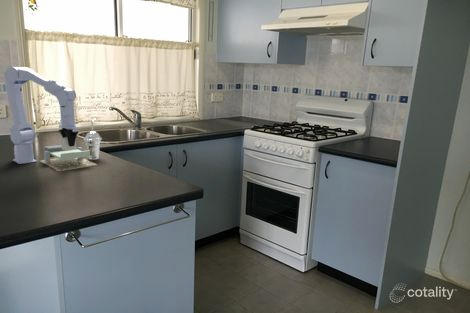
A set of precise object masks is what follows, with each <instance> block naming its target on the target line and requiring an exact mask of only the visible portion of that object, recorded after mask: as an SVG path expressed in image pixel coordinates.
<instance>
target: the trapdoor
mask: <svg viewBox="0 0 470 313" xmlns="http://www.w3.org/2000/svg"><path fill="white" fill-rule="evenodd" d="M44 151H49V152H50V159H52V158H59V159H61V160H66V159H73V158H80V157H83V158H87V157H88V158H89V156H90V150H83V151H80V150H78V149H77V144H76V149H75V150H68V151H65V150H62V145H61V144H58V145H57V144H56V145H47V146H44Z"/></svg>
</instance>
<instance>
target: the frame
mask: <svg viewBox="0 0 470 313" xmlns="http://www.w3.org/2000/svg"><path fill="white" fill-rule="evenodd" d="M77 149H78V150H80V151H84V149H83V147H81V146H80V147H77ZM43 155H44V157H43V159H41V160H40V161H39V162H40V163H42V164H44V165H46V166H47V167H49V168H51V169H53V170H54V171H56V172H64V171H69V170H75V169H81V168H82V169H83V168H88V167H93V166H97V163H95V162H92V161H91V160H89V159H86V158H84V157H80V158H73V159H66V160H61V159H59V158H57V157H55V158H50V152H49V151H45V150H44V151H43Z"/></svg>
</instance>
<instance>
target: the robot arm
mask: <svg viewBox="0 0 470 313" xmlns="http://www.w3.org/2000/svg"><path fill="white" fill-rule="evenodd" d="M3 74H4V79H5V90H6V94H7V98H8V103H9V106H10V112H11V116H12V117H11V118H12V120H13V124H12V125H11V127H10V128H9V129H10V130H9V131H10V135H9V137H10V141H11V142H12V143H13V144H14V147H13V152H14V153H13V154H14V159H12V161H13V162H15V163H17V164H18V165H19V164H20V165H22V164H29V163H36V162H38V160H37V159H35V157H34V147H33V146H34V145H33V143H34V140H35V139H36V137H37V136H36V132H35V130H34V128H33V124H31V123H29V122H28V120H27V114H26V111H25V106H24V101H23V97H22V96H23V95H22V93H21V92H22V91H21V88H22V87H23V86H24V85H25V84H26V83H27V82H30V81H31V82H32V83H35V84H37V85H39V86H41V87H43V88H44V91H45V92H47V93H49V94H50V95H52V96H54V97H55V98H56V99H57V101H58V104H59V110H60V112H59V113H60V123H59V125H58V128H60V129H58V132H59V134H60V136H61V137H67V139H68V144H69V146H74V145H75V140H76V139H77V136H78V134H79V129H78V128H79V127H78V126H77V125H76V122H75V120H76V119H75V116H76V115H75V99H76V98H77V93H76V91H75V90H74V89H73V88H72V87H68V88H67V87H66V86H65V85H63V84H60V83H59V82H58V81H57V80H56V79H49V80H48V79H46V78H45V77H43V76H42V75H40V74H39V73H37V72H35V71H34V69H32V68H30V67H28V66H9V67H7V68H6V69H5V71H4V72H3ZM76 141H77V140H76Z"/></svg>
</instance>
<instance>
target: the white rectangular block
mask: <svg viewBox="0 0 470 313" xmlns="http://www.w3.org/2000/svg"><path fill="white" fill-rule="evenodd" d="M60 145H62V150H65V151H68V150H75V149H76V145H77V140H75V145H74V146H69V144H68V139H67V137H62V136H61V137H60Z"/></svg>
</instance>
